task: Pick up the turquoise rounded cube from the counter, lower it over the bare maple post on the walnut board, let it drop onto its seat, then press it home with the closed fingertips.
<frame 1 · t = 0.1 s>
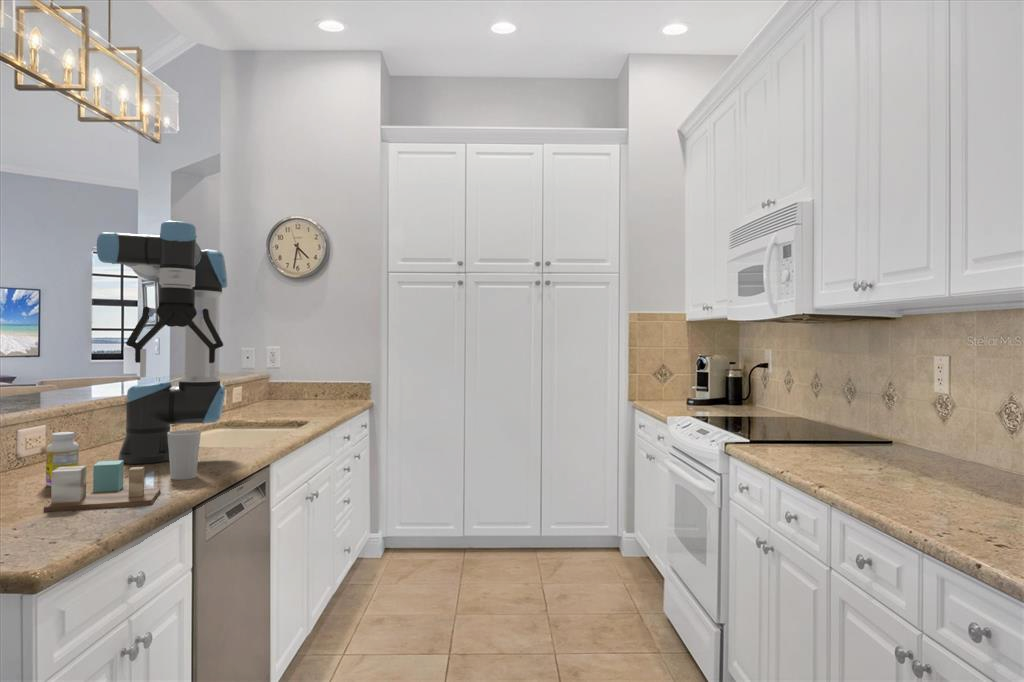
hand: (175, 377, 149), 28 cm above the worktop, fingers open, 13 cm apart
supplement bottle: (62, 485, 157), on the worktop
peg board: (105, 501, 142), on the worktop
cup: (183, 477, 168), on the worktop
turquoise rounded cube: (108, 490, 152), on the worktop
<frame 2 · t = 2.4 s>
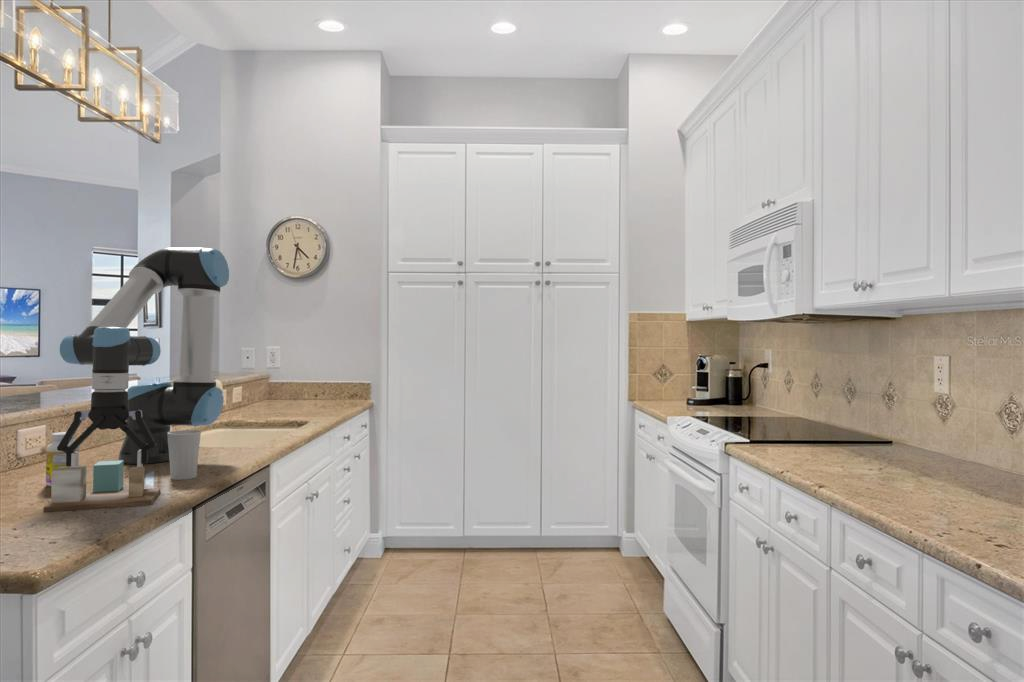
hand: (107, 478, 152), 3 cm above the worktop, fingers open, 13 cm apart
nothing on the worktop moved.
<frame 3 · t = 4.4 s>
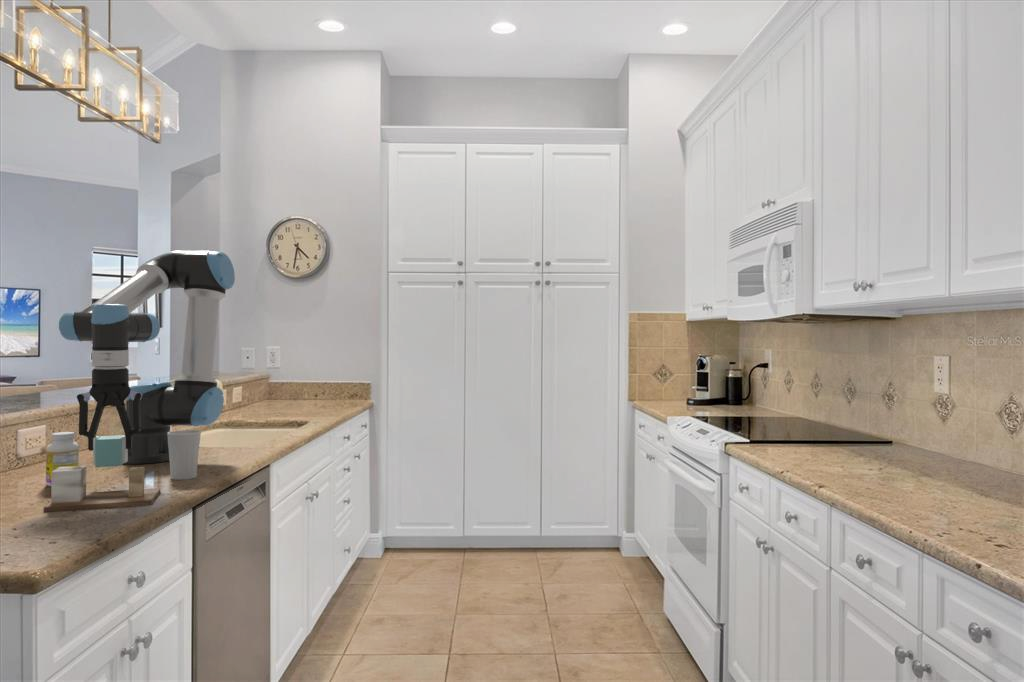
hand: (110, 462, 153), 6 cm above the worktop, fingers closed on turquoise rounded cube, 5 cm apart
turquoise rounded cube: (110, 464, 153), point 6 cm above the worktop, touching gripper
everything else where it was.
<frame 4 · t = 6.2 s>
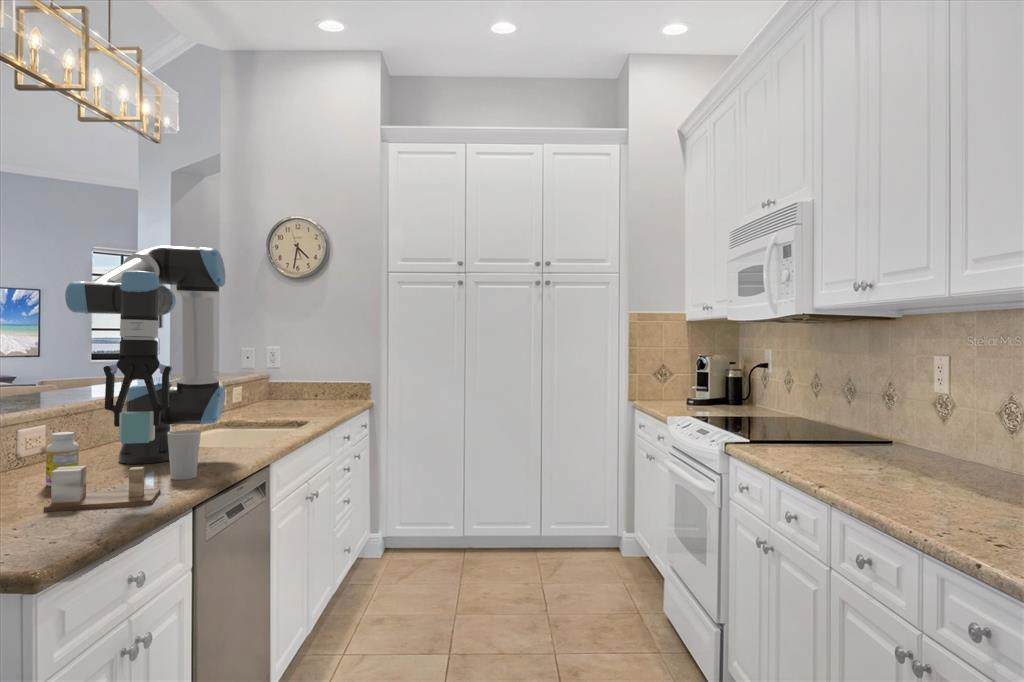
hand: (137, 440, 144), 14 cm above the worktop, fingers closed on turquoise rounded cube, 5 cm apart
turquoise rounded cube: (136, 441, 144), point 13 cm above the worktop, touching gripper
everything else where it was.
when the fingers open (2 cm above the worktop, at t = 8.3 s): turquoise rounded cube stays where it is, resting on peg board.
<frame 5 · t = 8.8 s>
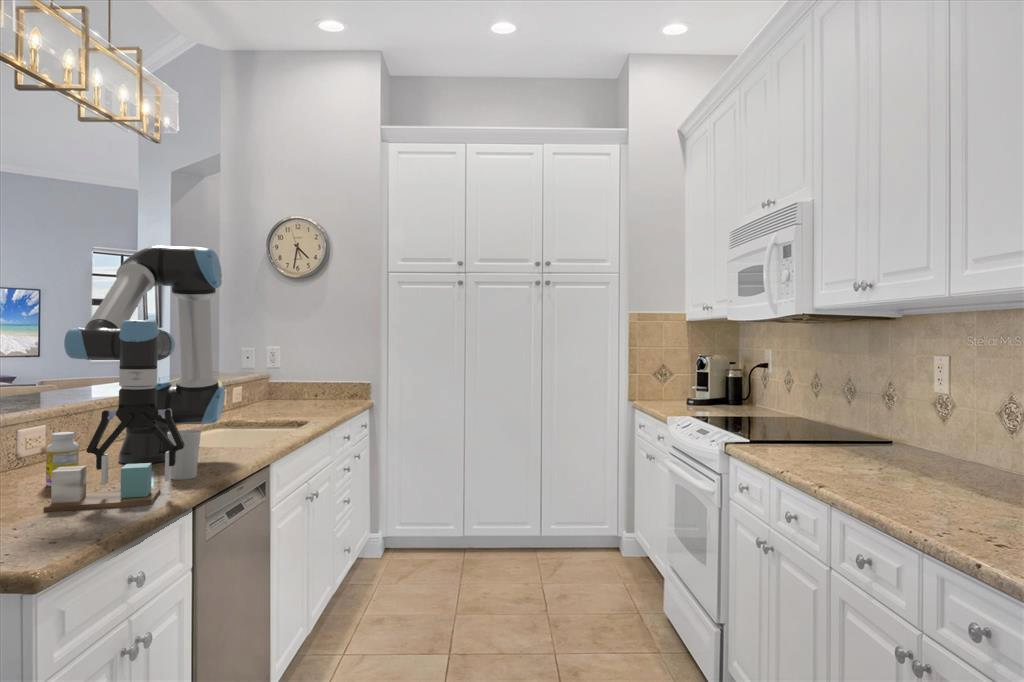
hand: (136, 482, 144), 4 cm above the worktop, fingers open, 12 cm apart
turquoise rounded cube: (136, 494, 144), point 1 cm above the worktop, touching peg board
everything else where it was.
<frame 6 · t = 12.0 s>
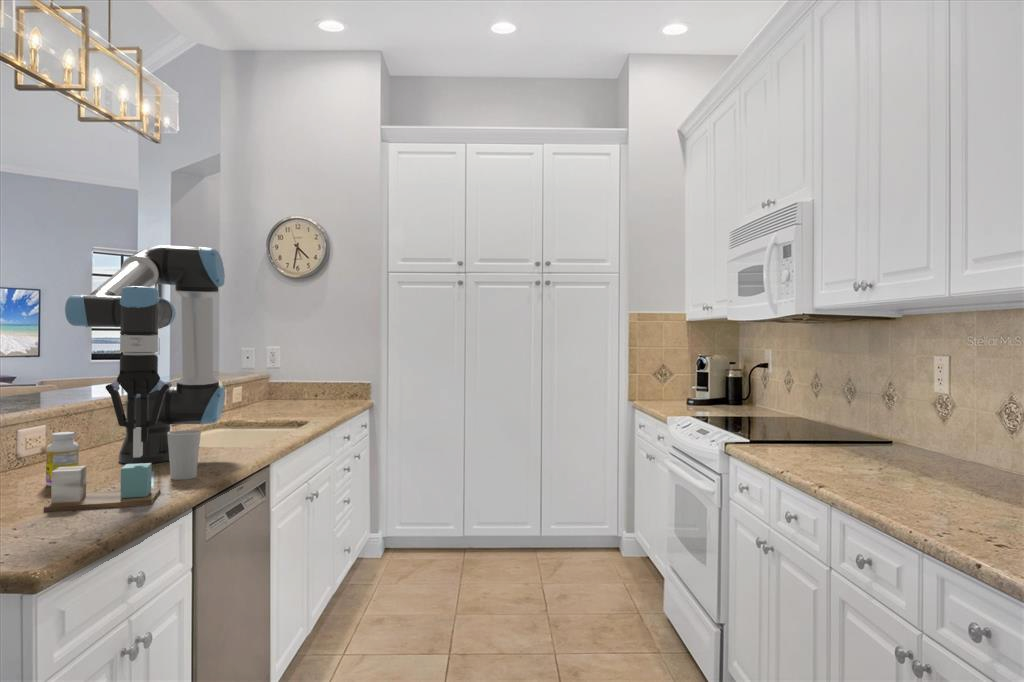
hand: (137, 456, 145), 10 cm above the worktop, fingers closed
nothing on the worktop moved.
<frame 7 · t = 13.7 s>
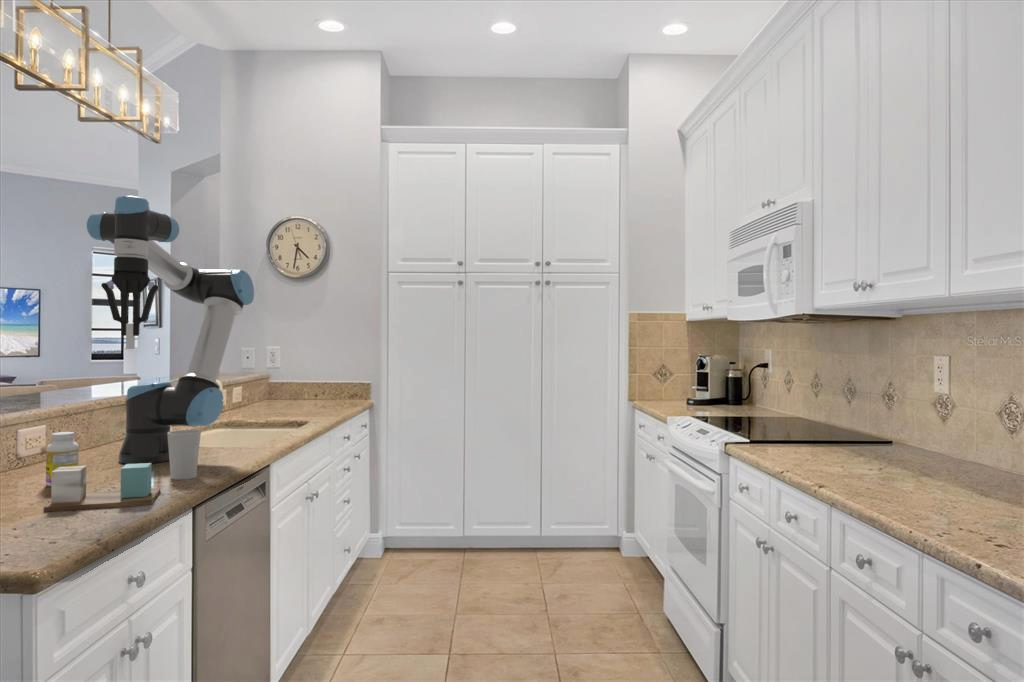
hand: (130, 348, 162), 34 cm above the worktop, fingers closed
nothing on the worktop moved.
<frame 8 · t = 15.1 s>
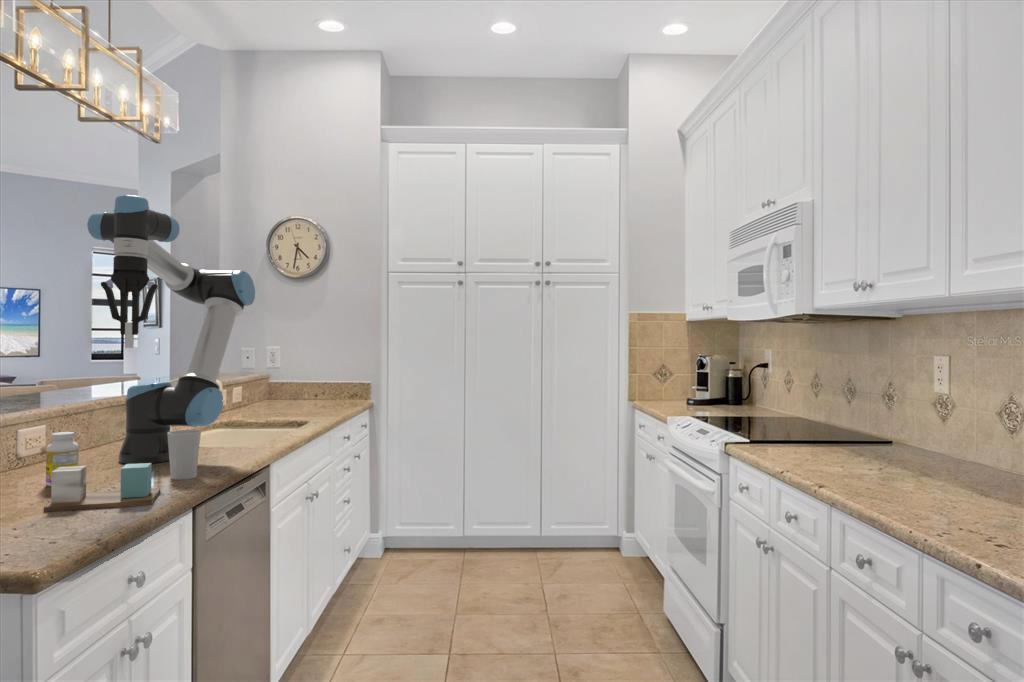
hand: (129, 347, 162), 34 cm above the worktop, fingers closed
nothing on the worktop moved.
at the end: turquoise rounded cube 0.1 cm from the target spot, point 1.2 cm above the worktop; the gripper is holding nothing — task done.
